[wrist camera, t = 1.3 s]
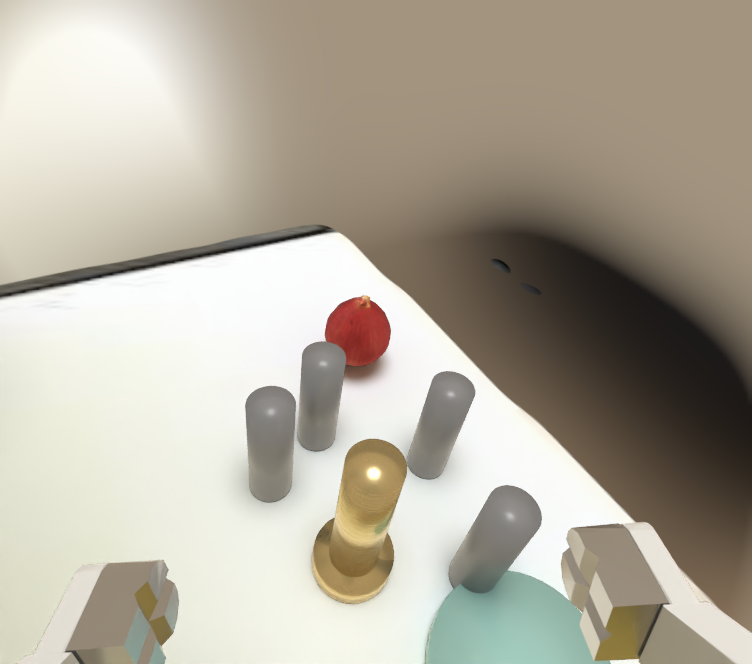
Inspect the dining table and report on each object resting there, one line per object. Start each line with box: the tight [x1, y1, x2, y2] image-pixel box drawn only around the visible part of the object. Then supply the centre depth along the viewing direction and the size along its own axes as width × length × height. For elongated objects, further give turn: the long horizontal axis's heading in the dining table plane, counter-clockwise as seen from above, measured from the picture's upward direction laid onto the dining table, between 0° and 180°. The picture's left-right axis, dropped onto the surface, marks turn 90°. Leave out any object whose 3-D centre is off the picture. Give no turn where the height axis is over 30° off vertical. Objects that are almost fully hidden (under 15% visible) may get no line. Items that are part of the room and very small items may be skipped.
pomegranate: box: [325, 296, 391, 366], centre depth 44 cm, size 6×6×8 cm
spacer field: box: [245, 342, 542, 593], centre depth 33 cm, size 18×11×9 cm, turn 79°
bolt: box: [312, 439, 407, 604], centre depth 29 cm, size 5×5×12 cm
